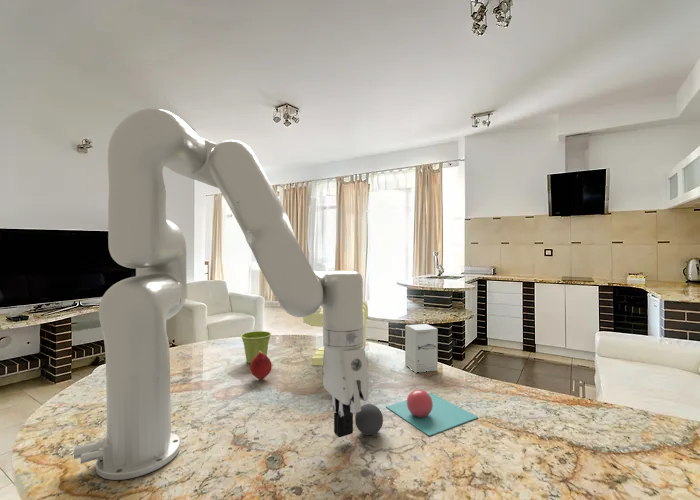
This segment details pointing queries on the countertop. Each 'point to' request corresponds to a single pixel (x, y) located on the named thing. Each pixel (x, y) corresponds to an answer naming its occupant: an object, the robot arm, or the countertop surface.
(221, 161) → the robot arm
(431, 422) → the teal mark
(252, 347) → the plant pot
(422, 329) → the supplement box
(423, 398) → the red ball
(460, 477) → the countertop surface
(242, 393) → the countertop surface
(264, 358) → the onion
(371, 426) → the dark gray ball
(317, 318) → the slatted curved stool
